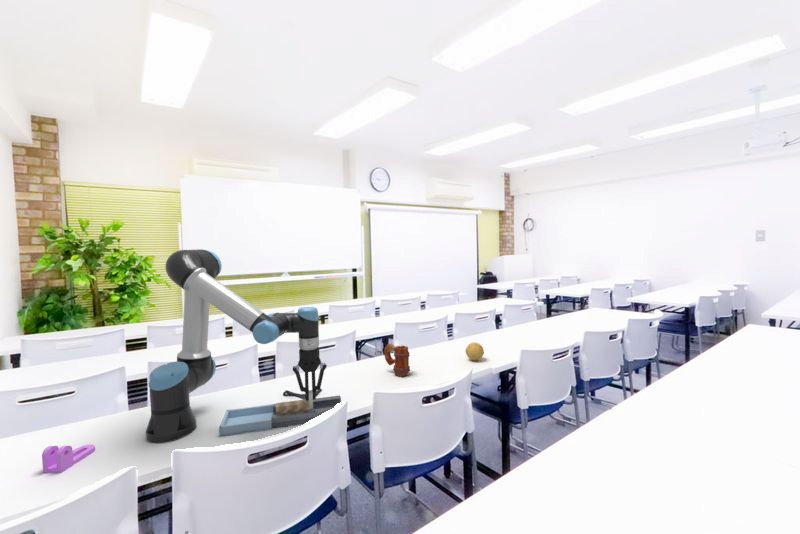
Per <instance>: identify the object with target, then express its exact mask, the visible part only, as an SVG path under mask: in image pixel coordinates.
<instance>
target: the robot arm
mask: <svg viewBox="0 0 800 534" xmlns="http://www.w3.org/2000/svg"><path fill="white" fill-rule="evenodd" d="M165 271H166V274H167V276H168V278H169V279H170V280H171V281H172V282H173V283H175V285H177V286H178V287H180V288H181V289H183V290H184V300H183V301H184V304H183V320H182V321H183V325H182V340H181V341H182V343H181V351H179V352H178V353H177V354H176V361H172V362H168V363H166V364H161V365H159V366H157V367H156V368H154V369H152V371H151V372H150V373H149V379H148V380H149V381H148V387H149V397H150V398H149V400H150V418H149V421H148V425H147V426H146V429H145V430H146V431H145V439H146V441H148V442H149V443H167V442H172V441H175V440H179V439H181V438H183V437H185V436H188V435H189V434H192V433H193V432H194V431H195V430H196V429H197V419H196V417H195V414H194V411H193V410H192V408H191V402H190V401H191V400H190V399H191V398H190V394H191V393H192V392H194V391H195V390H197V389H198V388H200V387H202V386H204V385H206V384H207V383H208V382H209V381H210V380H211V379H212V378H213V377H214V375H215V373H216V369H217V365H216V361H215V359H213V356H212V351H210V350H209V349H208V340H209V339H208V337H209V323H210V322H209V319H210V304H211V305H212V306H213V307H215V308H216V309H217V310H219V311H220V312H222V313H223V314H225V315H226V316H228V317H229V318H231V319H232V320H234V321H235V322H236V323H238V324H239V325H240V326H242V327H244V328H245V329H246V330H248V331H250V332H251V333H252V336H253V339H254V340H255V341H256V343H259V344H261V345H267V344H270V343H273V342H275V341H276V340H277V339H278V338H279V337H281V336H282V335H284V334H287V333H289V334H293V333H294V334H296V333H297V334H298V348H299V350H298V353H299V354H298V356H299V357H298V359H299V360H298V362H297V363H298V364H296V365H295V366H292V372H293V373H294V374H295V376H296V381H297V384H298V387H299V391H300V392H302V393H303V392H304V394H305V396H306V401H307V400H309V410H310V409H313V400H315V399H316V398H317V396H316V391H317V390H319V389H320V388H321V387H322V381H323V379H324V378H323V377H324V375H325V370H326V369H327V362H322V361H321V358H320V348H319V347H320V335H319V333H320V332H319V330H320V329H319V327H320V325H319V323H320V322H319V321H320V319H319V310H318V308H317V307H314V306H303V307H300V308H298V309H297V312H273V313H268V314H266V313H265V312H263V310H261V309H259V308H258V307H256V306H254V305H253V304H252V303H250V302H249V301H248V300H246V299H245V298H244V297H242V296H240V295H239V294H237V293H236V292H235V291H233V290H232V289H230V288H229V287H227V286H226V285H224V284H223V283H221V282H220V281H218V280H217V279H216V278H217V277H218V275H219V274H221V271H222V261H221V259H220V257H219V256H218V255H217V254H216V253H215V252H214V251H211V250H209V249H208V250H207V249H202V248H200V249H199V248H198V249H179V250H176V251H174V252H173V253H172V254H170V255H169V256H168V258H167V259H166V262H165ZM319 367H320V370H319V374H318V379H317V383H316V371H317V370H318V368H319ZM300 369H301V371H302V372H304V384H303V381H302V378H301V374H300ZM309 373H311V389H309V387H310V386H309V385H310V384H309Z"/></svg>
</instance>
